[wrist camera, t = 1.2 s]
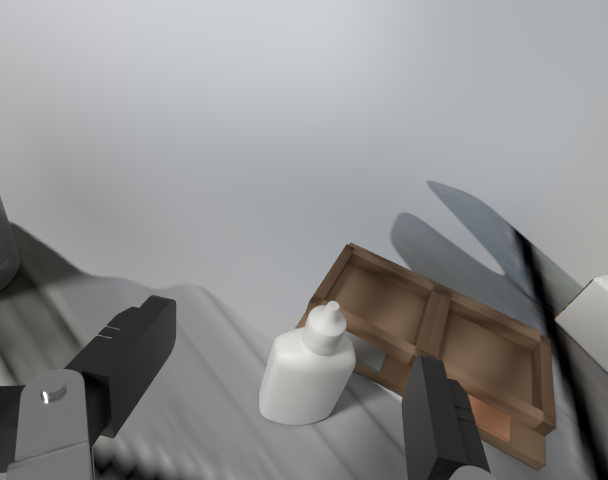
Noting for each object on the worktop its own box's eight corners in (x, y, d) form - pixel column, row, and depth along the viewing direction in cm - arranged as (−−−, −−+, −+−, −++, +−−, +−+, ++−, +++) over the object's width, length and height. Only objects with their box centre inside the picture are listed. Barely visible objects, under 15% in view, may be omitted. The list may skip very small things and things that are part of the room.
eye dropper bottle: (274, 366, 33) (305, 264, 25) (336, 398, 32) (387, 301, 24) (248, 411, 30) (275, 309, 22) (316, 448, 29) (368, 354, 21)
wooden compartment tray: (291, 337, 36) (297, 319, 34) (348, 248, 47) (354, 232, 45) (537, 470, 31) (557, 457, 29) (535, 336, 42) (549, 322, 41)
